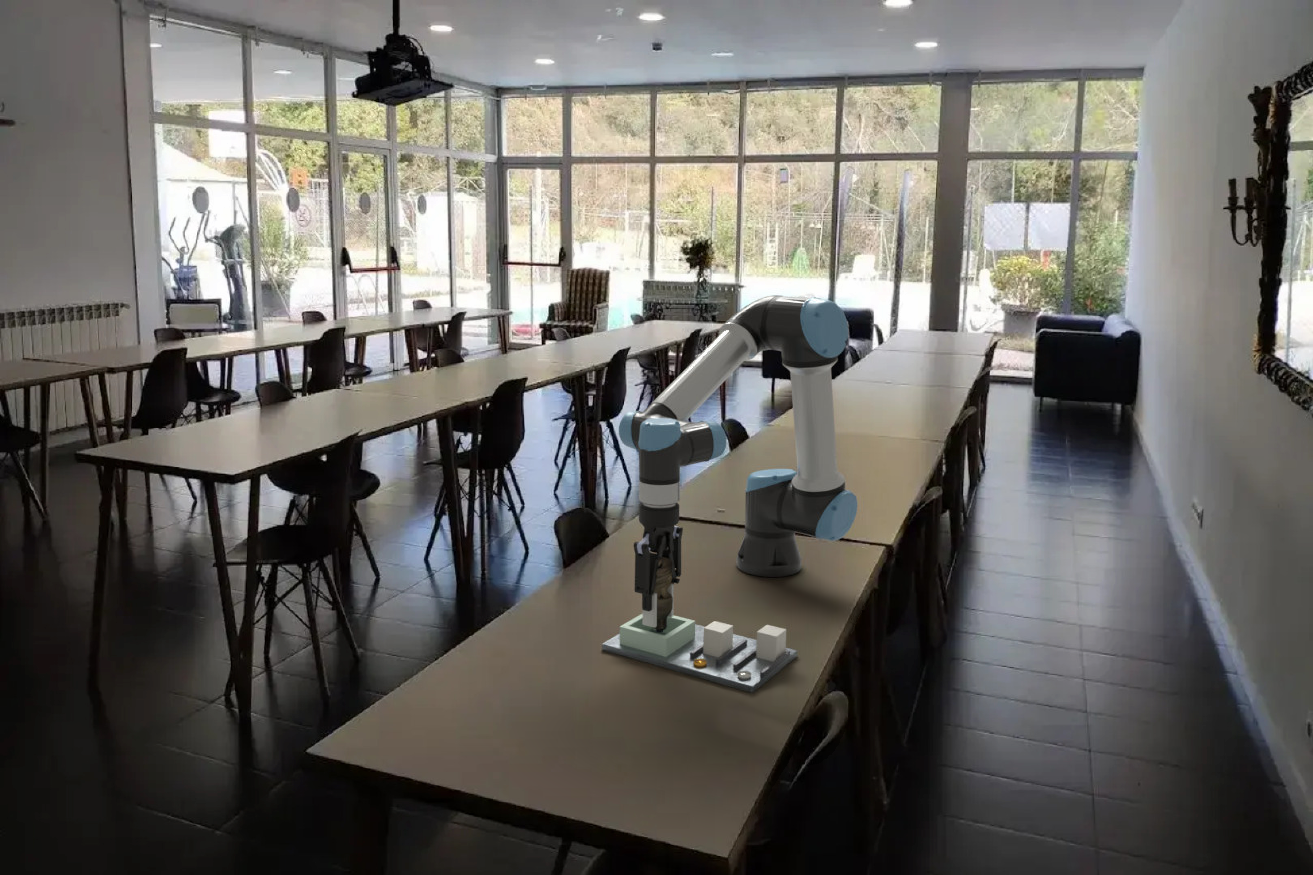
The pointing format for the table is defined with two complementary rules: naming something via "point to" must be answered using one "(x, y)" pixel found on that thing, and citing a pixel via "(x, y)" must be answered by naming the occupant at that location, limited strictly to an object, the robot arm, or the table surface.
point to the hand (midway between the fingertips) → (658, 620)
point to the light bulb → (663, 593)
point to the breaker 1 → (717, 639)
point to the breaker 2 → (770, 642)
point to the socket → (657, 635)
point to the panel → (712, 661)
